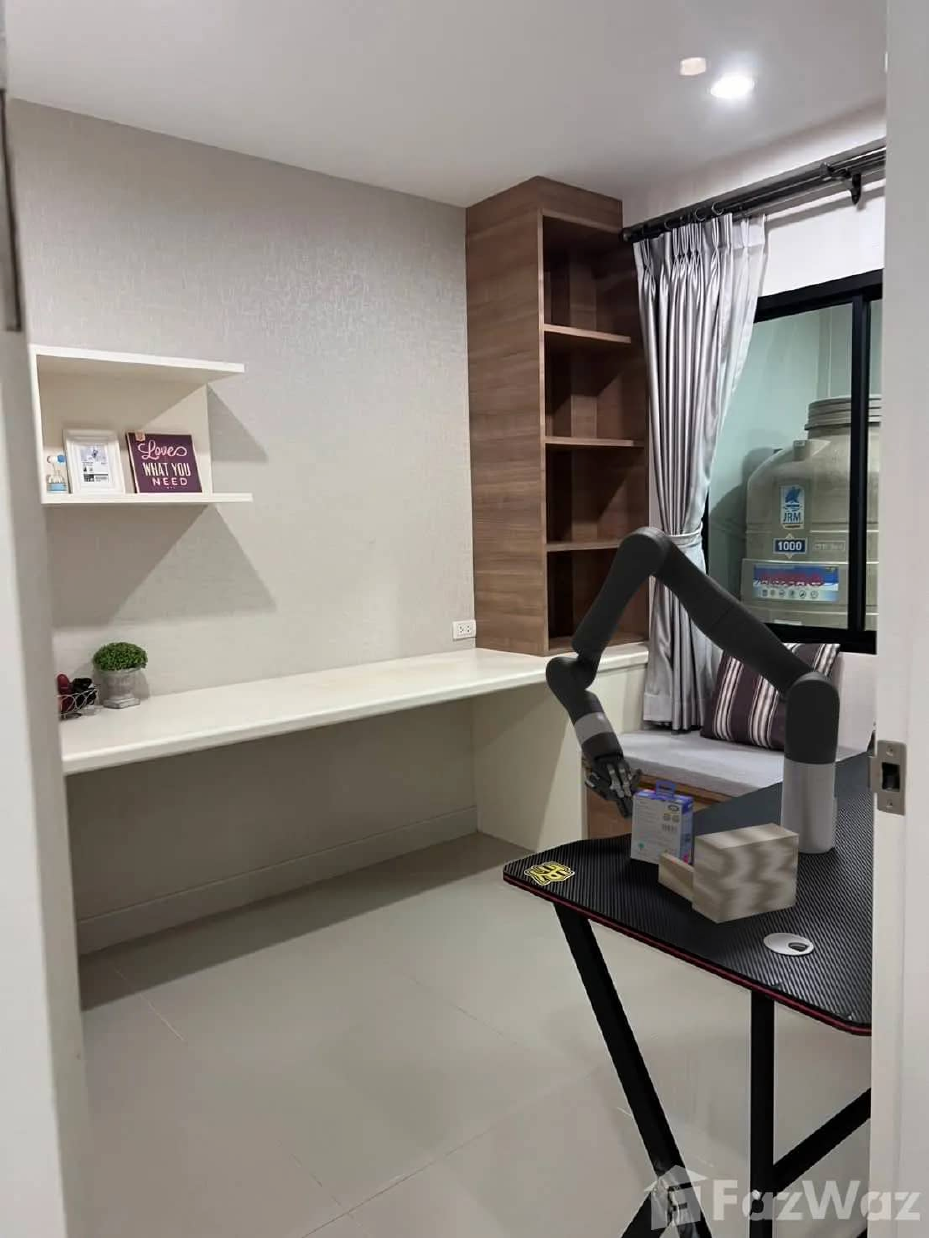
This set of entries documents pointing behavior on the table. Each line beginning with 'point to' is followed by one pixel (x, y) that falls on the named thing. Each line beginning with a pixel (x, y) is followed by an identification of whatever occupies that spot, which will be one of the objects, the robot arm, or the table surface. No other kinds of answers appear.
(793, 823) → the robot arm
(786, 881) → the cartridge dock
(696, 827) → the table surface
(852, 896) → the table surface
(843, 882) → the table surface
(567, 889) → the table surface
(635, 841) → the ink cartridge box
